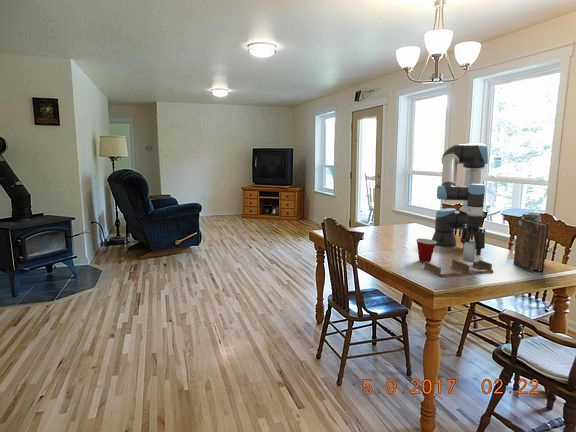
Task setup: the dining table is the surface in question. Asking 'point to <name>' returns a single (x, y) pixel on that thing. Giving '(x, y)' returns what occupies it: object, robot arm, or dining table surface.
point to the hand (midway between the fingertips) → (471, 259)
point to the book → (531, 244)
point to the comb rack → (459, 268)
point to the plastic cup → (425, 249)
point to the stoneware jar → (469, 251)
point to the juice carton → (532, 216)
